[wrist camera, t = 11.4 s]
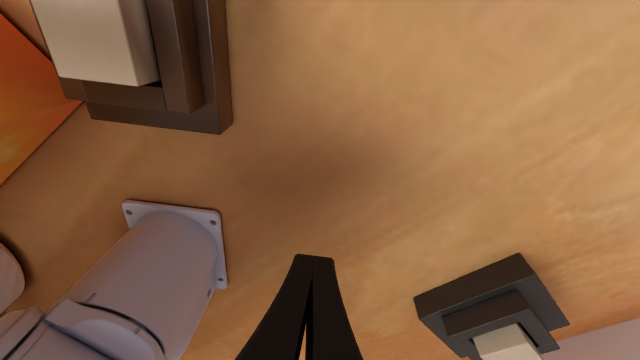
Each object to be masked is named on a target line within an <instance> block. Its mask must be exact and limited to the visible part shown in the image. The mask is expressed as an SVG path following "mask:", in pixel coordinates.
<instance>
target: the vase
mask: <svg viewBox="0 0 640 360" xmlns="http://www.w3.org/2000/svg"><path fill="white" fill-rule="evenodd" d="M24 284H25V280H24V274H23V272H22V269H21V267H20V265H19V263H18V262H17V260H16V259H15V257H14V256H13V255H12V254H11V253H10V251H9V250H8V249H7V248H6V247H5V246H4V245H2V244H1V243H0V314H1V313H2V312H3V311H4V310H5V309H6V308H7V307H8V306H9V305H10V304H11V303H13V302H14V301H15V300H16V299H17V298H18V297H19V296H20V295H21V293H22V291H23V290H24Z"/></svg>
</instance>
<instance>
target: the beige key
mask: <svg viewBox="0 0 640 360" xmlns="http://www.w3.org/2000/svg"><path fill="white" fill-rule="evenodd" d="M31 3H32V5H33V8H34V11H35V13H36V16H37V19H38V21H39V24H40V27H41V29H42V32H43V35H44V37H45V40H46V43H47V45H48V48H49V51H50V53H51V56H52V59H53V61H54V64H55V67H56V69H57V72H58V75H59V76H60V77H63V78H72V79H80V80H88V81H96V82H104V83H112V84H121V85H129V86H137V87H138V86H141V85H145V84H148V83H151V82H155V81H158V80H160V76H159V70H158V65H157V60H156V55H155V49H154V44H153V39H152V34H151V29H150V23H149V18H148V13H147V8H146V3H145V0H31Z"/></svg>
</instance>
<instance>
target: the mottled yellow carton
mask: <svg viewBox="0 0 640 360" xmlns="http://www.w3.org/2000/svg"><path fill="white" fill-rule="evenodd" d="M81 102H82V101H80V100H71V99H66V98H65V95H64V92H63V90H62V87H61V84H60V82H59V79H58V76H57V74H56V71H55V68H54V66H53V63H52V62H51V61H49V60H48V59H47V58H46V57H45V56H44V55H43V54H42V53H41V52H40V51H39V50H38V49H37V48H36V47H35V46H34V45H33V44H32V43H31V42H30V41H29V40H28V39H27V38H26V37H25V36H24V35H22V34H21V33H20V32H19V31H18V30H17V29H16V28H15V27H14V26H13V25H12V24H11V23H10V22H9V21H8V20H7V19H6V18H5V17H4V16H3V15H2V14H1V13H0V185H1V184H2V183H3V182H4V181H5V180H6V179H7V178H8V177H9V176H10V175H11V174H12V173H13V172H14V171H15V170H16V169H17V168H18V167H19V166H20V164H21V163H22V162H23V161H24V160H25V159H26V158H27V157H28V156H29V155H30V154H31V153H32V152H33V151H34V150H35V149H36V148H37V147H38V146H39V145H40V144H41V143H42V142H43V141H44V140H45V139H46V138H47V137H48V136H49V135H50V134H51V133H52V132H53V131H54V130H55V129H56V128H57V127H58V126H59V125H60V124H61V123H62V122H63V121H64V120H65V119H66V118H67V117H68V116H69V115H70V114H71V113H72V112H73V111H74V110H75V109H76V107H77V106H78V105H79V104H80V103H81Z"/></svg>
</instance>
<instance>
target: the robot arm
mask: <svg viewBox="0 0 640 360" xmlns="http://www.w3.org/2000/svg"><path fill="white" fill-rule="evenodd" d="M122 209H123V212H124V215H125V217H126V220H127V223H128V226H129V229H130V230H129V231H128V232H127V233H126V234H125V235H124V236H123V237H122V238H121V239H120V240H119V241H118V242H117V243H115V244H114V245H113V246H112V247H111V248H110V249H109V250H108V251H107V252H106V253H105V254H104V255H103V256H102V257H101V258H100V259H99V260H98V261H97V262H96V263H95V264H94V265H93V266H92V267H91V268H90V269H89V270H88V271H87V272H86V273H85V274H83V275H82V276H81V277H80V278H79V279H78V280H77V281H76V282H75V283H74V284H73V285H72V286H71V287H70V288H69V289H68V290H67V291H66V292H65V293H64V294H63V295H62V296H61V297H60V298H59V299H58V300H57V301H56V302H55V303H54V304H52V305H51V306H50V307H49V308H48V309H46V310H44V311H42V310H40V309H38V308H37V307H34V306H32V307H28V308H26V309H24V310H23V309H22V310H17V311H12V312H9V313H7V314H6V315H4V316H3V317H1V318H0V360H178V359H179V358H180V357H181V356H182V355H183V353H184V352H185V351H186V349H187V348H188V346H189V344H190V342H191V340H192V338H193V336H194V334H195V331H196V329H197V327H198V325H199V323H200V321H201V319H202V317H203V314H204V312H205V310H206V308H207V306H208V304H209V302H210V300H211V298H212V295H213V293H214V291H215V289H225V288H226V287H227V285H228V282H227V273H226V264H225V255H224V246H223V237H222V228H221V219H220V214H219V213H218V212H216V211H213V210H205V209H197V208H189V207H181V206H173V205H165V204H157V203H149V202H141V201H133V200H126V201H124V202H123V203H122ZM212 220H213V221H215V222H213V221H212ZM305 326H306V352H305V360H363V358H362V355H361V353H360V350H359V348H358V345H357V342H356V340H355V337H354V334H353V331H352V329H351V326H350V323H349V320H348V317H347V314H346V310H345V307H344V304H343V301H342V297H341V294H340V290H339V286H338V281H337V277H336V272H335V265H334V260H333V259H332V258H328V257H320V256H312V255H304V254H297V255H295V256H294V259H293V262H292V265H291V267H290V270H289V272H288V274H287V276H286V278H285V280H284V282H283V284H282V286H281V288H280V290H279V292H278V293H277V295H276V297H275V299H274V301H273V302H272V304H271V306H270V308H269V309H268V311H267V312H266V314H265V316H264V317H263V319H262V320H261V322H260V323H259V325H258V327H257V328H256V330H255V331H254V333H253V334H252V336H251V337H250V339H249V340H248V342H247V343H246V345H245V346H244V347H243V349H242V350H241V352H240V353H239V354H238V356H237V357H236V358H235V360H299V356H300V351H301V346H302V341H303V336H304V331H305Z"/></svg>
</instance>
